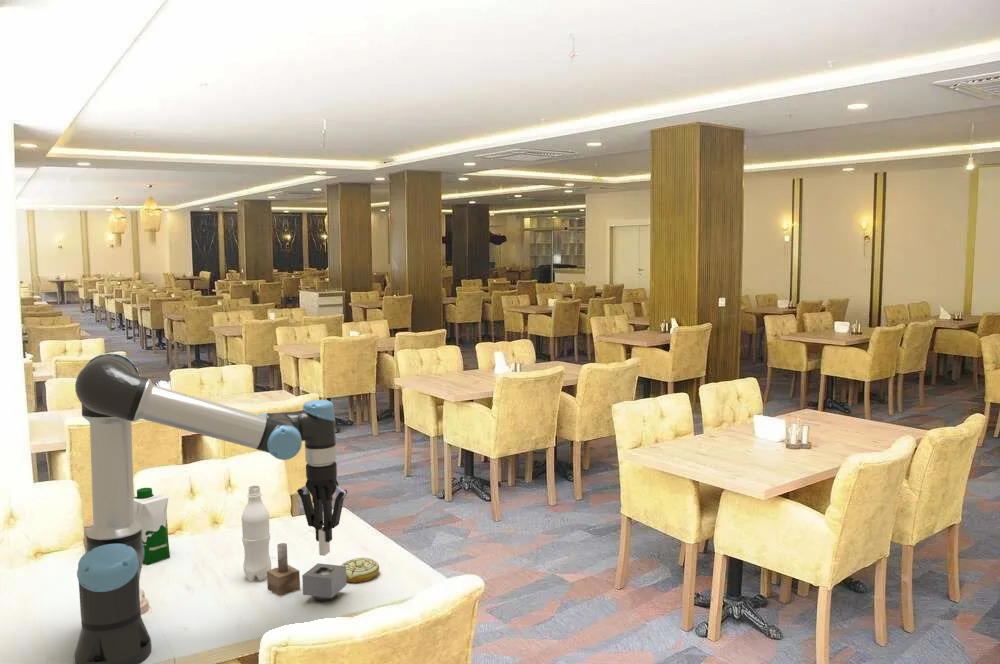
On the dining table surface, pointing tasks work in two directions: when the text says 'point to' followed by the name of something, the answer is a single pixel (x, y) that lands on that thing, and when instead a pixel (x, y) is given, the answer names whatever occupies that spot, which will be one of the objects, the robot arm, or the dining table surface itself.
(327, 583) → the square steel tube
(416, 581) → the dining table surface
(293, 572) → the stand
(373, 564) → the decorated donut
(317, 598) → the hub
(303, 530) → the dining table surface
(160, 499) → the milk carton
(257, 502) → the water bottle
